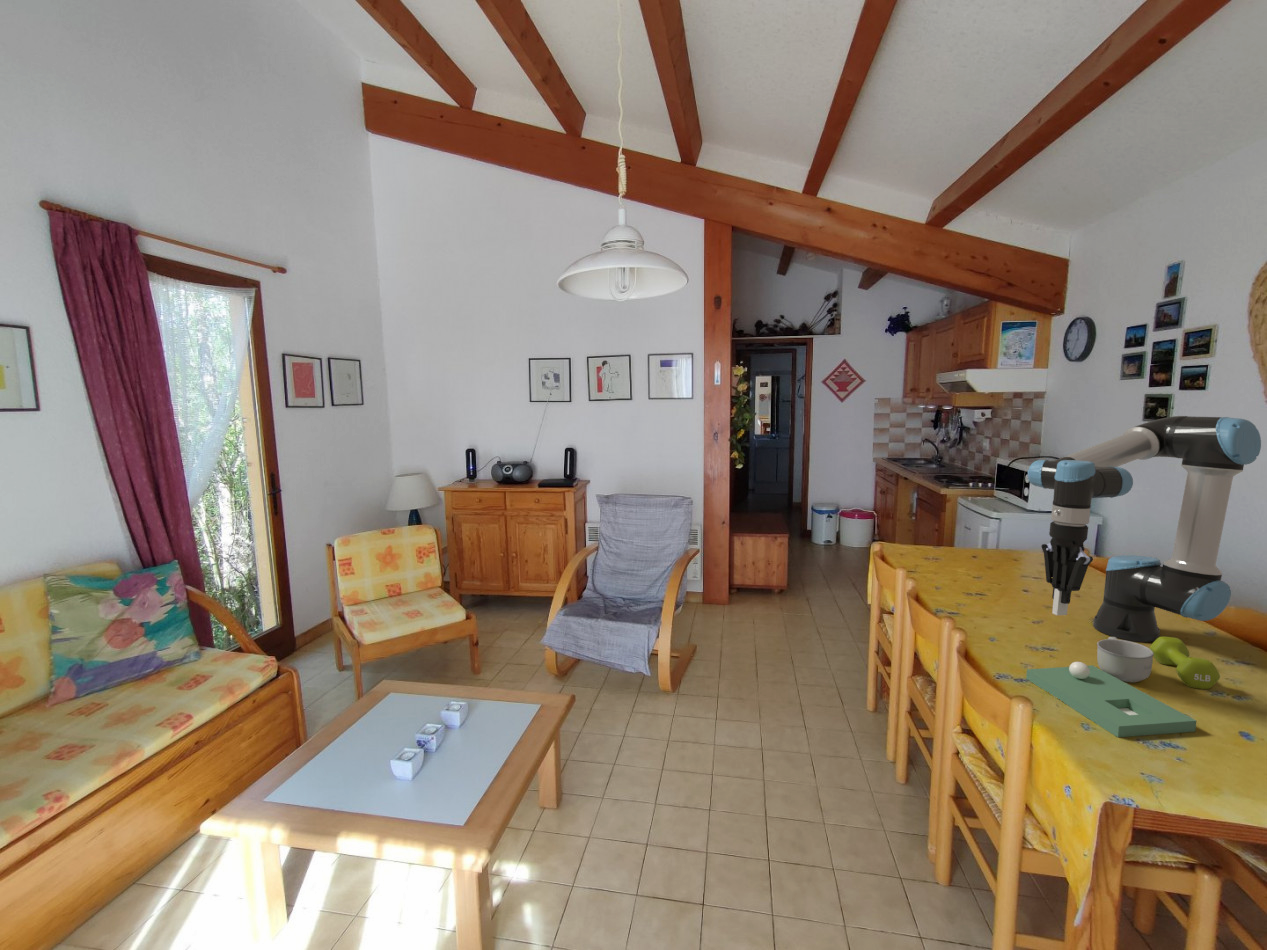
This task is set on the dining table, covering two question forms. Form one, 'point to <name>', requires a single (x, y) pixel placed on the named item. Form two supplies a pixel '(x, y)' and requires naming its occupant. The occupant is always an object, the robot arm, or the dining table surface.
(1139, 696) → the putting mat
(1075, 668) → the ball
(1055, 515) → the robot arm
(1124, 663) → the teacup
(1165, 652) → the dumbbell
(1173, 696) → the dining table surface
